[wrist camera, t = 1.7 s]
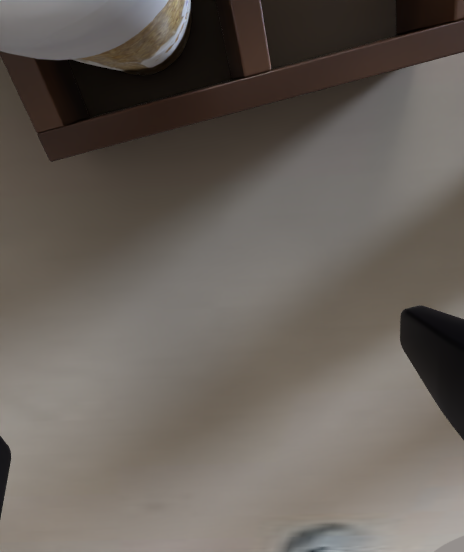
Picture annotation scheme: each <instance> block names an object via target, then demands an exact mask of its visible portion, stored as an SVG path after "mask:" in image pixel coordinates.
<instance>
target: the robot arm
mask: <svg viewBox="0 0 464 552" xmlns="http://www.w3.org/2000/svg"><path fill="white" fill-rule="evenodd" d="M400 341H401V345H402V348H403V350H404V352H405V353H406V355H407V356H408V358H409V360H410V361H411V363H412V365H413V366H414V368H415V369H416V371H417V373H418V374H419V376H420V378H421V379H422V381H423V382H424V384H425V386H426V387H427V389H428V391H429V392H430V394H431V395H432V397H433V399H434V400H435V402H436V403H437V405H438V406H439V408H440V410H441V411H442V412H443V414H444V415H445V416H446V418H447V419H448V421H449V422H450V423H451V424H452V426H453V427H454V428H455V430H456V431H457V432H458V434H459V435H460V436H461V438H462V439H463V440H464V319H461V318H458V317H455V316H452V315H449V314H446V313H443V312H440V311H437V310H434V309H431V308H428V307H425V306H415V307H411V308H408V309H405V310H403V311H402V313H401V319H400ZM10 462H11V451H10V448H9V446H8V445H7V444H6V442H5V441H4V440H3V439H2V437H1V436H0V518H1V512H2V507H3V501H4V496H5V490H6V484H7V479H8V473H9V468H10Z"/></svg>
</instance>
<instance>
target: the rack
mask: <svg viewBox="0 0 464 552" xmlns="http://www.w3.org/2000/svg"><path fill="white" fill-rule="evenodd" d="M215 1H216V6H217V10H218V15H219V20H220V25H221V30H222V35H223V40H224V45H225V49H226V54H227V59H228V64H229V69H230V74H231V78H232V80H228V81H224V82H220V83H217V84H213V85H209V86H205V87H202V88H198V89H194V90H190V91H187V92H183V93H179V94H176V95H172V96H168V97H164V98H161V99H157V100H153V101H149V102H146V103H142V104H138V105H134V106H131V107H127V108H123V109H119V110H116V111H112V112H108V113H104V114H101V115H97V116H93V117H89V114H88V111H87V109H86V106H85V103H84V101H83V98H82V96H81V93H80V91H79V88H78V86H77V83H76V80H75V78H74V75H73V73H72V70H71V68H70V65H69V62H68V60H47V59H36V58H30V57H25V56H20V55H15V54H10V53H6V52H2V51H0V55H1V57H2V60H3V62H4V64H5V66H6V68H7V70H8V72H9V75H10V77H11V79H12V81H13V83H14V85H15V87H16V90H17V92H18V94H19V96H20V98H21V100H22V102H23V105H24V107H25V109H26V111H27V113H28V115H29V117H30V120H31V122H32V124H33V126H34V128H35V130H36V132H37V133H38V137H39V139H40V141H41V143H42V145H43V148H44V150H45V152H46V154H47V156H48V158H49V160H50V161H51V162H52V161H56V160H60V159H63V158H67V157H71V156H75V155H79V154H82V153H86V152H90V151H94V150H97V149H101V148H105V147H109V146H112V145H116V144H120V143H124V142H127V141H131V140H135V139H139V138H142V137H146V136H150V135H154V134H157V133H161V132H165V131H169V130H172V129H176V128H180V127H184V126H187V125H191V124H195V123H199V122H202V121H206V120H210V119H214V118H217V117H221V116H225V115H229V114H232V113H236V112H240V111H244V110H248V109H251V108H255V107H259V106H263V105H266V104H270V103H274V102H278V101H281V100H285V99H289V98H293V97H296V96H300V95H304V94H308V93H311V92H315V91H319V90H323V89H326V88H330V87H334V86H338V85H341V84H345V83H349V82H353V81H356V80H360V79H364V78H368V77H371V76H375V75H379V74H383V73H386V72H390V71H394V70H398V69H401V68H405V67H409V66H413V65H417V64H420V63H424V62H428V61H432V60H435V59H439V58H443V57H447V56H450V55H454V54H458V53H462V52H464V0H396V33H397V35H396V36H393V37H389V38H385V39H381V40H378V41H374V42H370V43H366V44H363V45H359V46H355V47H351V48H348V49H344V50H340V51H337V52H333V53H329V54H325V55H322V56H318V57H314V58H310V59H307V60H303V61H299V62H295V63H292V64H288V65H284V66H280V67H277V68H273V69H271V63H270V56H269V50H268V43H267V37H266V31H265V24H264V18H263V11H262V5H261V0H215Z"/></svg>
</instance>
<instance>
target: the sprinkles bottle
mask: <svg viewBox="0 0 464 552" xmlns="http://www.w3.org/2000/svg"><path fill="white" fill-rule="evenodd" d="M191 22H192V10H191V0H0V51H2V52H6V53H10V54H15V55H20V56H25V57H30V58H36V59H47V60H68V59H72V60H75V61H79V62H82V63H86V64H90V65H95V66H99V67H104V68H109V69H114V70H119V71H123V72H125V73H128V74H134V75H151V74H155V73H157V72H159V71H162V70H164V69H166V68H167V67H168V66H169V65H170V64H172V63H173V62H174V61H175V60H176V59H177V58H178V57H179V56H180V55H181V53H182V51H183V50H184V47H185V45H186V42H187V40H188V38H189V33H190V28H191Z"/></svg>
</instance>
